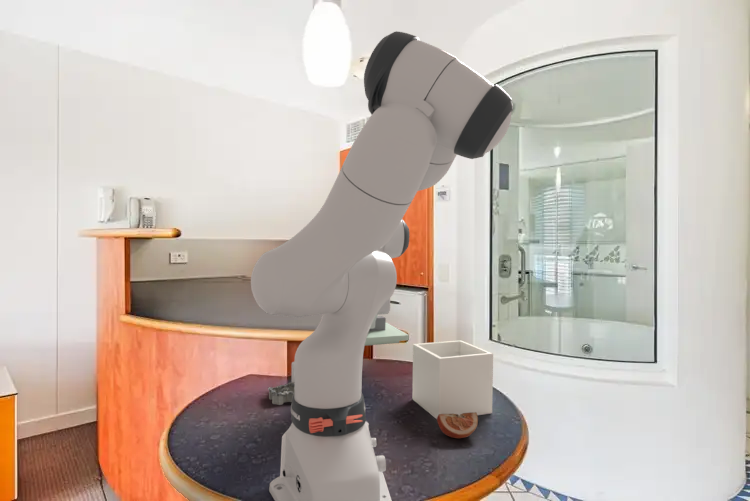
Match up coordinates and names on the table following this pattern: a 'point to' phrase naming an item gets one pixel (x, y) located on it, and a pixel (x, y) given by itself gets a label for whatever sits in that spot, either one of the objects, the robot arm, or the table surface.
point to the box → (452, 378)
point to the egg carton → (281, 393)
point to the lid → (384, 333)
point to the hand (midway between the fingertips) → (368, 326)
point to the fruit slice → (458, 424)
